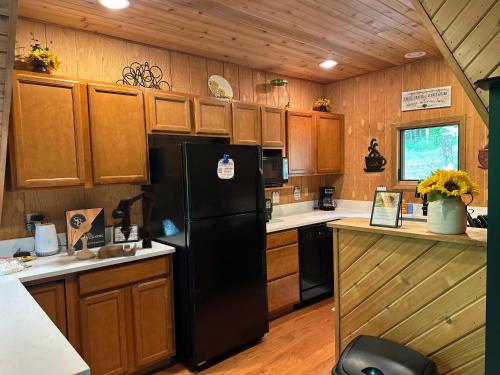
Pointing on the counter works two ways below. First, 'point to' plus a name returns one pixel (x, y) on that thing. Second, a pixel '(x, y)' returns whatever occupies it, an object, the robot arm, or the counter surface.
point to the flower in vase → (85, 242)
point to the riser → (126, 246)
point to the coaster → (127, 250)
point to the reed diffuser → (71, 249)
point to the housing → (110, 251)
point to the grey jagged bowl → (130, 252)
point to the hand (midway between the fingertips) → (127, 239)
